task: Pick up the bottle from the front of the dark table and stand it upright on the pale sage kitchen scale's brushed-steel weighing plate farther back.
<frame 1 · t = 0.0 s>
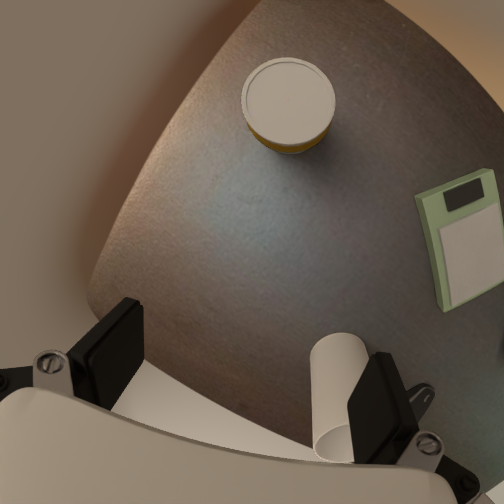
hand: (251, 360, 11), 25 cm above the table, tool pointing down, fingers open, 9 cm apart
computer mouse: (403, 405, 42), on the table
scale: (463, 238, 32), on the table
cup: (338, 355, 40), on the table
bottle: (289, 124, 32), on the table
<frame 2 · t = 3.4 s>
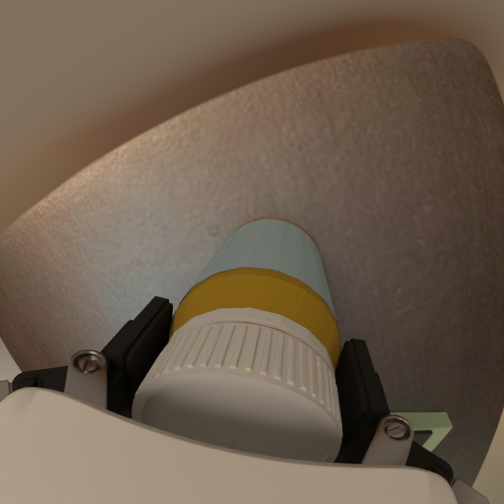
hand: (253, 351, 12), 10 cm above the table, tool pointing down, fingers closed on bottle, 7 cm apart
scale: (372, 453, 27), on the table
bottle: (271, 263, 21), on the table, touching gripper
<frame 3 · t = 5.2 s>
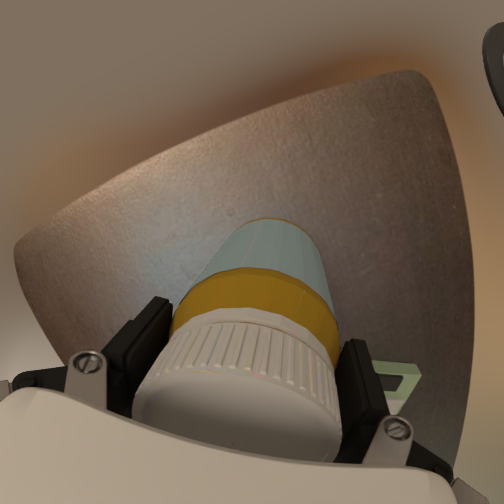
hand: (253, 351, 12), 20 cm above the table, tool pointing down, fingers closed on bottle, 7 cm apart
scale: (356, 402, 36), on the table
bottle: (271, 263, 21), point 10 cm above the table, touching gripper
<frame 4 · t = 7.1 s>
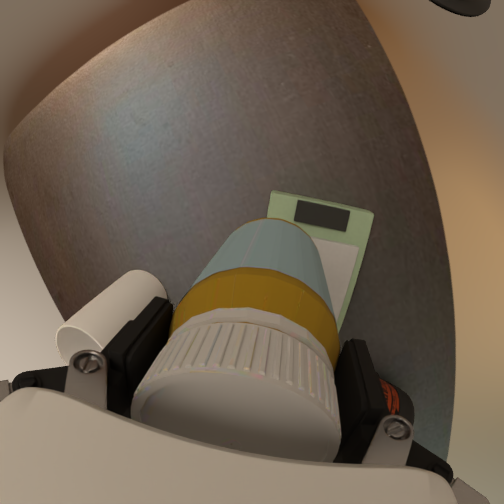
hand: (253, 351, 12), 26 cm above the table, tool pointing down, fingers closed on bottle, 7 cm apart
scale: (308, 262, 37), on the table
cup: (143, 294, 42), on the table
bottle: (270, 263, 21), point 15 cm above the table, touching gripper
oil filter: (359, 390, 43), on the table
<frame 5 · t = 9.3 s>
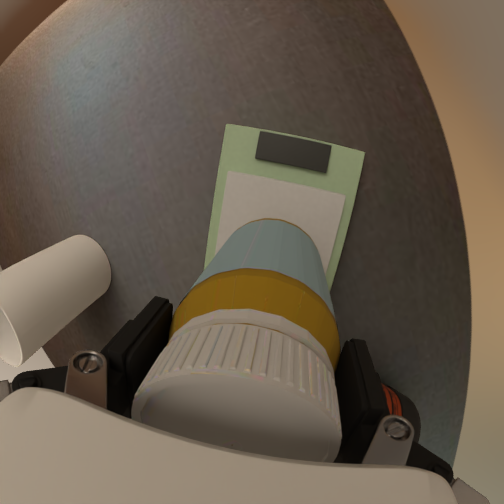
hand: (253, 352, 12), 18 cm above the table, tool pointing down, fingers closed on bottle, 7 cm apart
scale: (279, 220, 28), on the table
cup: (86, 266, 33), on the table
bottle: (271, 263, 21), point 8 cm above the table, touching gripper
oil filter: (350, 394, 34), on the table
when the fingers open (14 cm above the table, at t = 11.1 s): bottle stays where it is, resting on scale.
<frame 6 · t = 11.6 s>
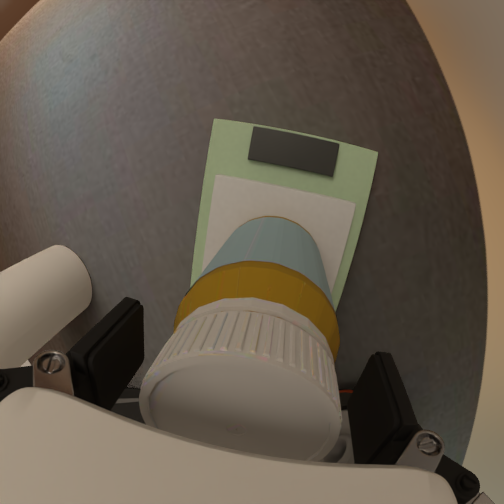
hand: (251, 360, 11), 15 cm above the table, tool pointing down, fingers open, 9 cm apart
computer mouse: (131, 403, 34), on the table
scale: (277, 231, 24), on the table
cup: (66, 278, 29), on the table
bottle: (271, 260, 22), point 3 cm above the table, touching scale
oil filter: (354, 417, 30), on the table
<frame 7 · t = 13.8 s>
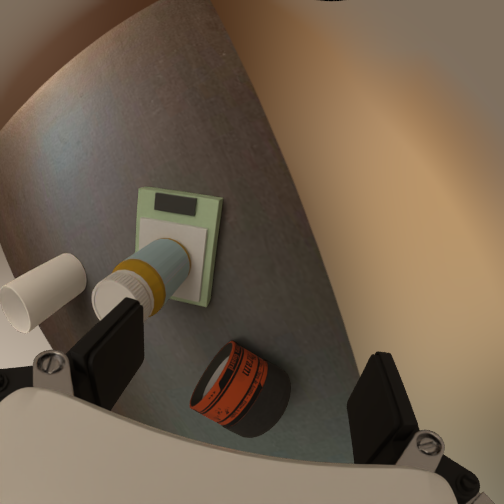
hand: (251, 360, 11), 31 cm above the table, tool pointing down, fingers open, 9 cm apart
scale: (177, 244, 44), on the table
cup: (71, 273, 49), on the table
bottle: (169, 259, 42), point 3 cm above the table, touching scale
oil filter: (249, 367, 50), on the table
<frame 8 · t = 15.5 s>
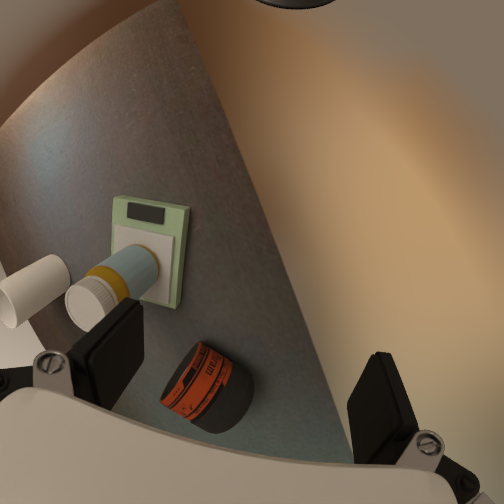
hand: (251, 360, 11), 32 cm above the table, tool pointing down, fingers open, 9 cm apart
scale: (150, 249, 46), on the table
cup: (56, 273, 51), on the table
bottle: (141, 264, 44), point 3 cm above the table, touching scale
oil filter: (218, 367, 52), on the table
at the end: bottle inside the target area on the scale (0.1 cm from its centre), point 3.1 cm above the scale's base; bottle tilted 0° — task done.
